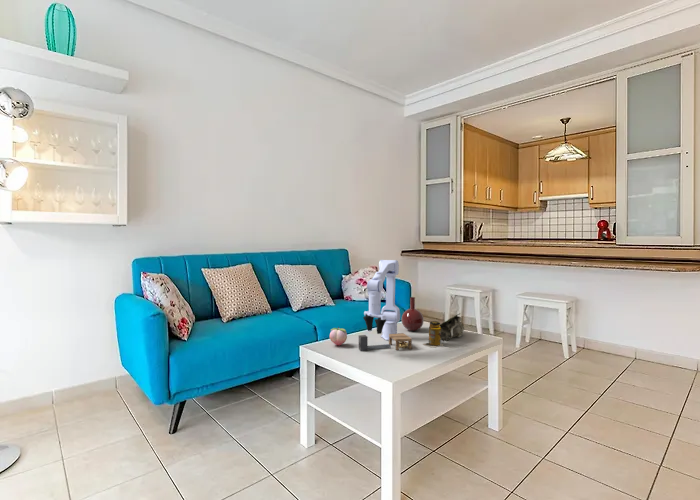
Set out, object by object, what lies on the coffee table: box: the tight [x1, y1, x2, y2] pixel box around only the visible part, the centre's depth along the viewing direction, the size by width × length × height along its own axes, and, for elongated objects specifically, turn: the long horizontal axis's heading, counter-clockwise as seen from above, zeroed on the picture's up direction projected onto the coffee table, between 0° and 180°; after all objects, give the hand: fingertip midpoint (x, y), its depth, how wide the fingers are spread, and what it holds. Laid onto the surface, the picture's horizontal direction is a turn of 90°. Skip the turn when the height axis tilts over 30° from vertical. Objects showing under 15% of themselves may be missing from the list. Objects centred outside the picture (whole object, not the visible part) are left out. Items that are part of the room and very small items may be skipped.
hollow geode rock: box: [440, 313, 465, 342], centre depth 215 cm, size 28×13×15 cm
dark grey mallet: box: [358, 334, 392, 352], centre depth 194 cm, size 4×16×7 cm, turn 105°
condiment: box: [423, 320, 444, 349], centre depth 201 cm, size 7×8×12 cm
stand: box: [388, 332, 413, 351], centre depth 198 cm, size 11×8×5 cm
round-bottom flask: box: [401, 296, 425, 332], centre depth 231 cm, size 13×13×20 cm
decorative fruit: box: [329, 326, 348, 346], centre depth 200 cm, size 9×8×10 cm
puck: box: [399, 341, 408, 349], centre depth 198 cm, size 5×5×2 cm
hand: (374, 332), depth 188 cm, fingers open, 7 cm apart
